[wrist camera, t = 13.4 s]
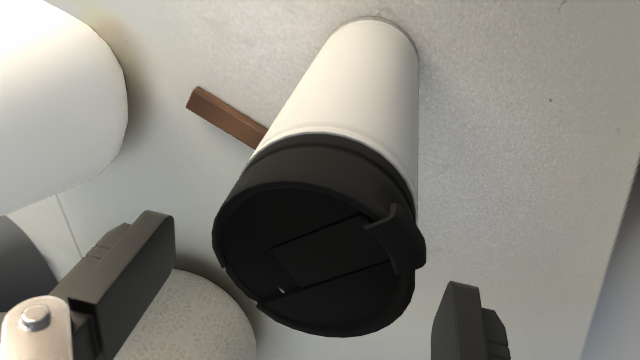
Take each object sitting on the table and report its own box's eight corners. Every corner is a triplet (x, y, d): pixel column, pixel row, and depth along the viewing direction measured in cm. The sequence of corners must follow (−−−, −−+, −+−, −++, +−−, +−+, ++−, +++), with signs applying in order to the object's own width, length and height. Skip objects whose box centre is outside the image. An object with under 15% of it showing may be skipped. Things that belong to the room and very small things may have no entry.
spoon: (181, 122, 35) (174, 127, 34) (207, 64, 32) (201, 69, 31) (383, 244, 37) (382, 252, 36) (424, 200, 34) (424, 208, 34)
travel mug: (441, 81, 30) (469, 323, 13) (352, 127, 32) (279, 376, 16) (393, -9, 28) (351, 141, 11) (302, 48, 30) (154, 240, 13)
